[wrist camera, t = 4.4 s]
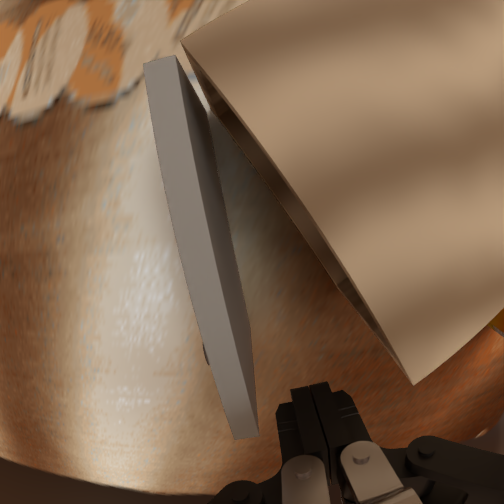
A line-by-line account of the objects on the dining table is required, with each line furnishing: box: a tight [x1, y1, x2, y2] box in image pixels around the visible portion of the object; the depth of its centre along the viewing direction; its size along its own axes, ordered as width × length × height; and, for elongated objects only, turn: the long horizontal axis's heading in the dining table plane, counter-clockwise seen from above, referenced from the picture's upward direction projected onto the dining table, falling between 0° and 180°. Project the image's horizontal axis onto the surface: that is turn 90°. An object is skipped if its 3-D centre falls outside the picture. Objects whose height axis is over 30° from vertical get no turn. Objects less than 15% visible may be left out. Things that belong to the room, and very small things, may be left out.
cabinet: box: [180, 0, 504, 385], centre depth 16 cm, size 17×16×13 cm
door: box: [143, 55, 259, 440], centre depth 17 cm, size 16×2×12 cm, turn 11°
